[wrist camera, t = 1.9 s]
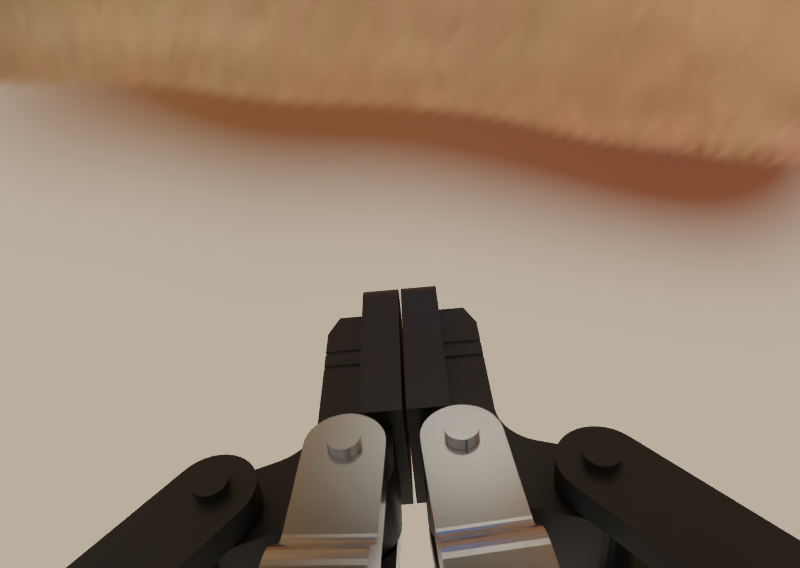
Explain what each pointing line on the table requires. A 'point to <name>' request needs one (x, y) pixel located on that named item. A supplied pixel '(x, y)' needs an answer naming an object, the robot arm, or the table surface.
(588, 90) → the table surface
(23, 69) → the table surface
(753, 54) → the table surface
